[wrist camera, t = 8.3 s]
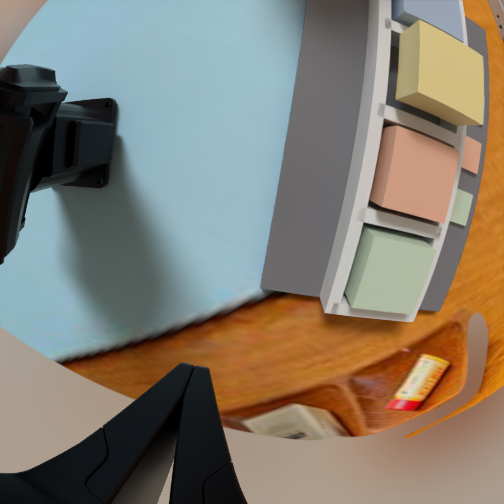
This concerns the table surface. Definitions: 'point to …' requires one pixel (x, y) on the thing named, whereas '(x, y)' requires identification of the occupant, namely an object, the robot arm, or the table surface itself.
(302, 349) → the table surface
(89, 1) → the table surface
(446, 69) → the key ochre
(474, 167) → the keypad base
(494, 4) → the cassette
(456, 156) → the key terracotta
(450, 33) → the key slate
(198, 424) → the robot arm
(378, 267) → the key sage
